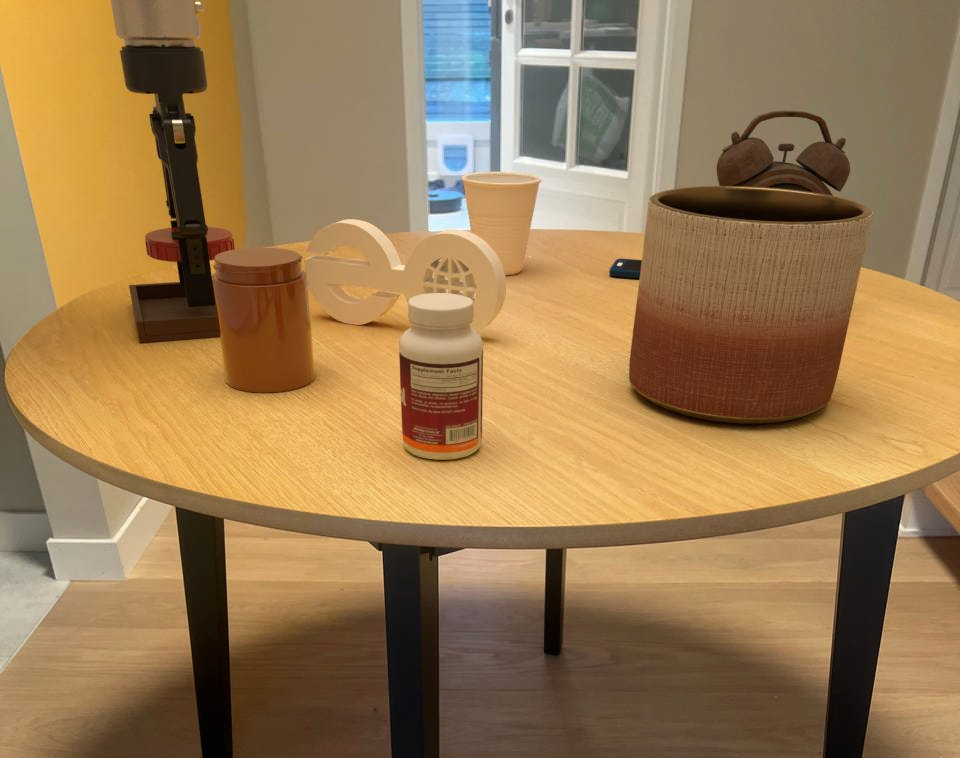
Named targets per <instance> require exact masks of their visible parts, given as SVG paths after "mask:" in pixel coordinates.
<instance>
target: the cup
mask: <svg viewBox="0 0 960 758" xmlns="http://www.w3.org/2000/svg"><path fill="white" fill-rule="evenodd" d="M542 180H543V179H542V177H541V176H539V175H535V174H531V173H526V172H516V171H514V172H513V171H479V172H477V171H476V172H470V173H466V174H464V175H462V176H461V181H462V182H463V187H464V194H465V203H466V209H467V215H468V220H469V221H468V223H469V228H470V231H469V232H470V233H472V234H475V235H477V236H478V237H480V238H481V239H483V240H484V241H485V242H487V243H488V245H489V246H490V247H491V248H492V249H493V250H494V252H495V253H496V254H497V256H498V258H499V259H500V261H501V264H502V266H503V269H504V273H505V276H512V275H516V274H519V273H520V272H521V271H522V270H523V268H524V264H525V259H526V254H527V248H528V242H529V237H530V232H531V227H532V221H533V217H534V212H535V207H536V202H537V196H538V192H539V187H540V183H542Z"/></svg>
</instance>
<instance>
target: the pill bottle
mask: <svg viewBox="0 0 960 758" xmlns="http://www.w3.org/2000/svg"><path fill="white" fill-rule="evenodd" d="M473 318H474V309H473V300H472V299H470V298H469V297H466V296H462V295H457V294H449V293H448V292H446V293H429V294H422V295H417V296H414V297H412V298H410V299H409V301H408V303H407V319H408V322H409V324H411V327H409V328H408V329H406V330H405V331H404V332H403V333H402V334H401V336H400V339H399V343H398V345H399V346H398V356H399V384H400V385H399V388H400V393H399V394H400V395H399V396H400V409H401V410H400V412H401V413H400V414H401V436H402V437H401V438H402V443H403V446H404V448H405V449H406V451H408V452H409V453H410V454H412V455H414V456H416V457H419V458H423V459H429V460H435V461H436V460H438V461H439V460H440V461H441V460H442V461H444V460H445V461H447V460H448V461H449V460H457V459H461V458H465V457H468V456H471V455H472V454H474V453H475V452H476V451H478V449H479V448H480V447H481V445H482V441H483V440H482V439H483V397H484V395H483V394H484V393H483V392H484V391H483V390H484V388H483V387H484V386H483V385H484V343H483V339H482V337H481V335H480V334H479V332H477V331H475V330H474V329H473V328H471V327H470V324H471V323H472V321H473Z"/></svg>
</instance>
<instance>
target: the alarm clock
mask: <svg viewBox="0 0 960 758" xmlns="http://www.w3.org/2000/svg"><path fill="white" fill-rule="evenodd" d="M774 118H801V119H802V118H803V119H807V120H810V121H813V122H815V123H816V124H817V125H818V127H819V130H820V132H821V135H822V138H823V141H816V142H812V143H810V144H809V145H808V146H807V147H805V148H804V149H803V150H802V151H801V153H799V154H798V156H797V157H796V158H795V162H797V164H796V163H792V162H786V159H787V155H788V152H792V151H793V152H794V150H795V144H793V143H780V144H779V145H778V146H777V149H778V151H779V152H783V155H782V161H778V160H774V159H775V158H774V155H773V153H772V151H771V150H770V147H769V146H768V144H766V142H765V140H763V139H761V138H759V137H754V136H751V134H752V133H753V131H754V130H755V129H756V128H757V126H758V125H759V124H761V122H764V121H765V122H766V121H768V120H771V119H774ZM750 136H751V137H750ZM730 139H731V142H732V143H731V144H729V145H727V146H725V147H724V148H722V149H721V151H722V152H721V154H720V156H719V157H718V159H717V162H716V163H717V164H716V178H717V182H718V186H747V187H766V188H779V189H790V190H799V191H807V192H814V193H820V194H826V195H831V196H834V195H833V193H832V192H831V191H832V190H830V189H829V187H830V188H832V189H834V190H835V191H837V192H839V193H840V192H842V190H843V188H844V187H845V185H846V183H847V181H848V179H849V176H850V174H851V164H850V160H849V157H848V156H847V155H846V154H845V153H846V152H845V151H844V150H843V148H844V146H845V145H846V142H847V140H846V138H845V137H840V138H838V139H837V141H836V142H835V143H834V142H833V141H832V137H831V134H830V131H829V128H828V125H827V123H826V121H825V120H824V118H822V116H819V115H817V114H813V113H810V112H807V111H802V110H801V111H800V110H772V111H769V112H765V113H762V114H759V115H757V116H756V117H754V118H752V119H751V121H750V123H749V124H748V126H746V128H745V129H744V131H743V133H742V134H741V135H740V133H739V132H737V131H733V132H732V133H731V135H730ZM798 164H799V165H798Z"/></svg>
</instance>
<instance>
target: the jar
mask: <svg viewBox="0 0 960 758" xmlns="http://www.w3.org/2000/svg"><path fill="white" fill-rule="evenodd" d="M213 261H214V264H213V269H214V270H215V272H214V273H213V274H212V283H213V290H214V298H215V305H216V312H217V320H218V327H219V334H220V337H219V340H220V348H221V355H222V356H221V357H222V365H223V370H224V378H225V382H226V384H227V385H228V386H229V387H231V388H234V389H235V390H239V391H243V392H249V393H260V394H262V393H263V394H267V393H268V394H269V393H270V394H271V393H282V392H288V391H293V390H297V389H300V388H303V387H305V386H308V385H309V384H311V383H313V382H314V380H315V378H316V370H315V357H314V356H315V355H314V347H313V346H314V345H313V333H312V322H311V321H312V320H311V307H310V297H309V286H308V283H307V274H306V272H305V270H303V268H302V262H303V256H302V254H300V253H299V252H297V251H294V250H291V249H286V248H280V247H245V248H244V247H243V248H235V250H230V251H225V252H222V253H219V254H217V255H216V256H215V257H214V260H213Z"/></svg>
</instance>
